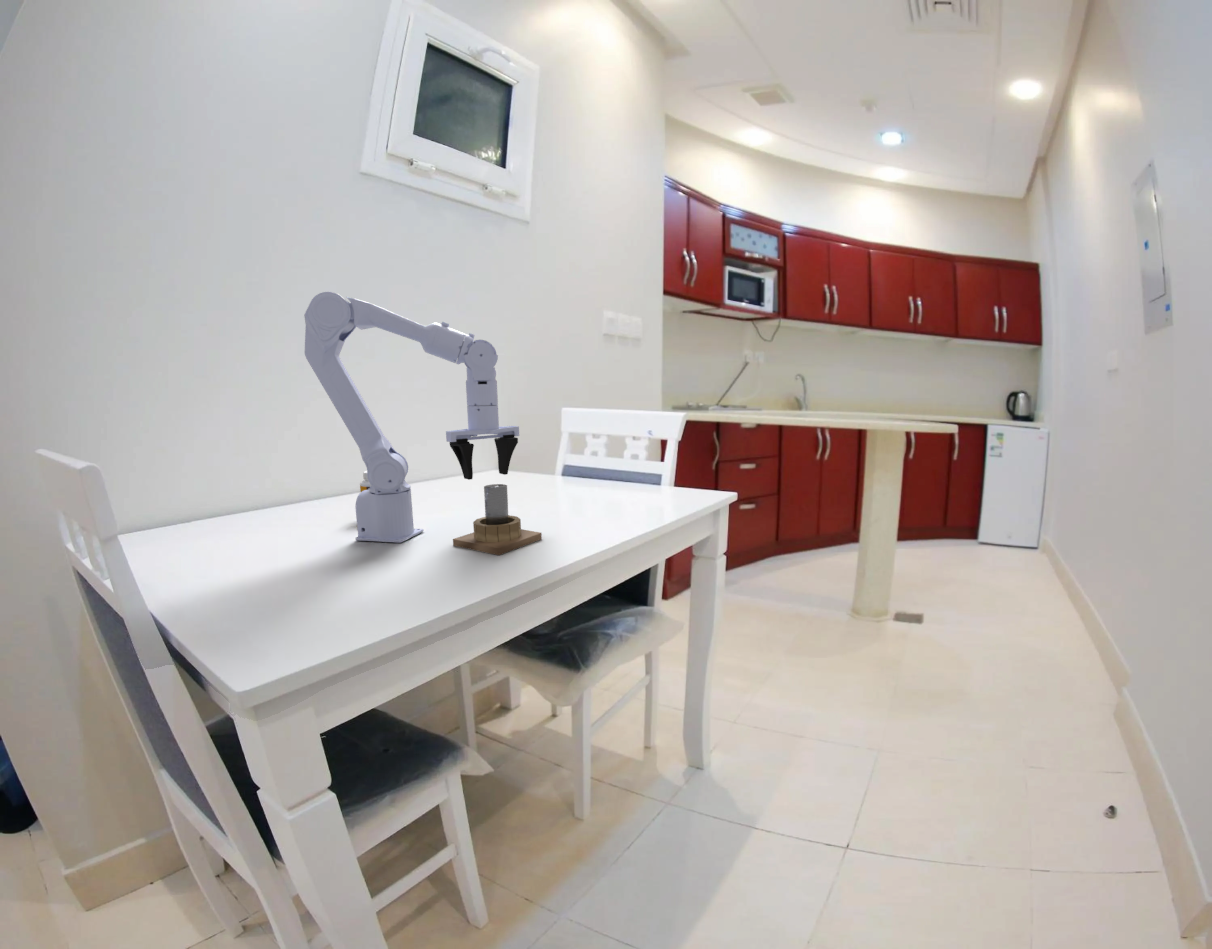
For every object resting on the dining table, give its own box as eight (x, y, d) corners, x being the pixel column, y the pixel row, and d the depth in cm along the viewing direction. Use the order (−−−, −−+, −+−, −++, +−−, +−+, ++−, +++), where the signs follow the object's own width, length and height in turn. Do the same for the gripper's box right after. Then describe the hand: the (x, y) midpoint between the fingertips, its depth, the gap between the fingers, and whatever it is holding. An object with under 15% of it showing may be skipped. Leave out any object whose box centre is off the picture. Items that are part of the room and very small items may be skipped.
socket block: (453, 545, 99) (451, 523, 98) (497, 531, 108) (496, 510, 107) (499, 555, 93) (497, 531, 92) (541, 539, 102) (540, 517, 101)
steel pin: (482, 538, 99) (480, 487, 97) (492, 532, 103) (489, 483, 101) (503, 539, 98) (501, 488, 96) (512, 533, 102) (510, 484, 100)
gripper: (456, 407, 98) (461, 483, 100) (526, 404, 107) (529, 474, 110) (439, 406, 103) (443, 479, 106) (507, 403, 113) (510, 470, 115)
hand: (486, 476), depth 108 cm, fingers open, 7 cm apart
